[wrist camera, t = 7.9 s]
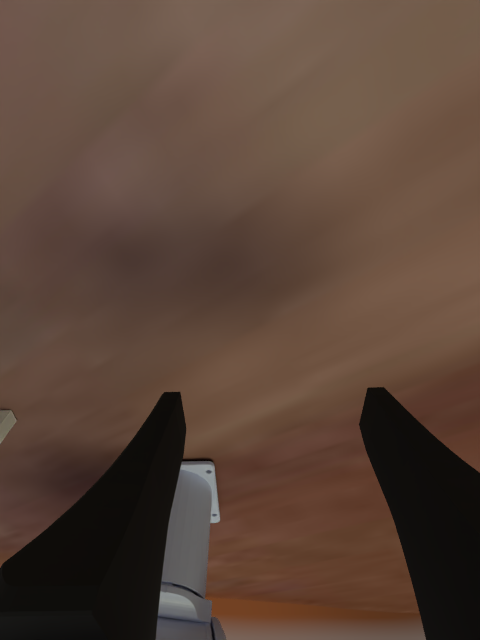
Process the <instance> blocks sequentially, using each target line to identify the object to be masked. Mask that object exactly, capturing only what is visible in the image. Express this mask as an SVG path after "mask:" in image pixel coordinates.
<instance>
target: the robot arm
mask: <svg viewBox="0 0 480 640" xmlns="http://www.w3.org/2000/svg"><path fill="white" fill-rule="evenodd" d="M359 426H360V430H361V434H362V438H363V441H364V445H365V448H366V451H367V454H368V457H369V459H370V462H371V464H372V467H373V469H374V471H375V474H376V476H377V479H378V481H379V484H380V486H381V489H382V491H383V494H384V496H385V498H386V501H387V503H388V506H389V508H390V511H391V514H392V516H393V519H394V522H395V525H396V529H397V532H398V535H399V539H400V542H401V545H402V549H403V552H404V556H405V559H406V563H407V566H408V570H409V573H410V577H411V580H412V584H413V588H414V592H415V596H416V600H417V604H418V608H419V611H420V615H421V619H422V623H423V628H424V632H425V637H426V640H480V473H479V472H478V471H476V470H475V469H474V468H472V467H471V466H470V465H468V464H467V463H466V462H465V461H463V460H462V459H461V458H459V457H458V456H457V455H456V454H455V453H453V452H452V451H451V450H450V449H449V448H447V447H446V446H445V445H444V444H443V443H442V442H440V441H439V440H438V439H437V438H436V437H435V436H434V435H432V434H431V433H430V432H429V431H428V430H427V429H426V428H425V427H424V426H423V425H422V424H421V423H420V422H418V421H417V420H416V419H415V418H414V417H413V416H412V415H411V414H410V413H409V412H408V411H407V410H406V409H405V408H404V407H403V406H402V405H401V404H400V403H399V402H398V401H397V400H396V399H395V398H394V397H393V396H392V395H391V394H390V393H389V392H388V391H387V390H386V389H385V388H384V387H377V388H368V389H367V393H366V397H365V401H364V406H363V410H362V414H361V419H360V423H359ZM185 436H186V424H185V418H184V412H183V406H182V400H181V393H180V392H164V393H163V394H162V396H161V397H160V399H159V401H158V402H157V404H156V406H155V407H154V409H153V410H152V412H151V413H150V415H149V416H148V418H147V419H146V421H145V422H144V424H143V425H142V427H141V428H140V430H139V431H138V432H137V434H136V435H135V437H134V438H133V439H132V441H131V442H130V443H129V444H128V446H127V447H126V448H125V450H124V451H123V452H122V453H121V455H120V456H119V457H118V458H117V460H116V461H115V462H114V463H113V464H112V466H111V467H110V468H109V469H108V470H107V471H106V472H105V473H104V475H103V476H102V477H101V478H100V479H99V480H98V481H97V482H96V483H95V484H94V485H93V486H92V487H91V488H90V489H89V490H88V491H87V492H86V493H85V494H84V495H83V496H82V497H81V498H80V499H79V500H78V501H77V502H76V503H75V504H74V505H73V506H72V507H71V508H70V509H69V510H68V511H66V512H65V513H64V514H63V515H62V516H61V517H60V518H58V519H57V520H56V521H55V522H54V523H53V524H52V525H51V526H49V527H48V528H47V529H46V530H45V531H44V532H42V533H41V534H40V535H39V536H38V537H36V538H35V539H34V540H32V541H31V542H30V543H29V544H27V545H26V546H25V547H24V548H22V549H21V550H20V551H19V552H17V553H16V554H15V555H13V556H12V557H11V558H10V559H8V560H7V561H5V562H4V563H3V564H2V566H1V568H0V640H226V636H225V633H224V631H223V629H222V627H221V624H220V622H219V620H218V619H217V618H215V617H211V610H212V601H211V600H206V599H205V592H206V578H207V564H208V549H209V535H210V523H217V522H219V521H220V512H219V503H218V494H217V485H216V475H215V466H214V463H213V462H211V461H187V462H182V459H183V454H184V445H185Z"/></svg>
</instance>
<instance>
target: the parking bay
mask: <svg viewBox="0 0 480 640" xmlns="http://www.w3.org/2000/svg"><path fill="white" fill-rule="evenodd" d="M16 421H17V420H16V418H15V416H14V414H13V412H12V411H11V410H0V444H1V442H2V441H3V439H4V438H5V437H6V435H7V434H8V432H9V431H10V430H11V428H12V427H13V426H14V424H15V423H16Z"/></svg>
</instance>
